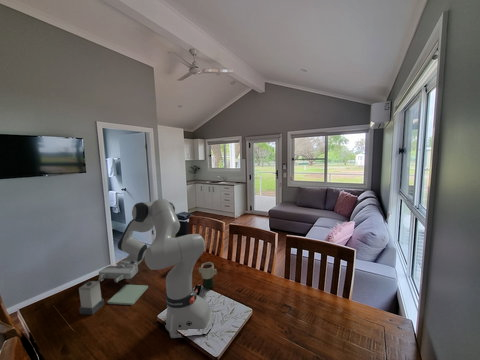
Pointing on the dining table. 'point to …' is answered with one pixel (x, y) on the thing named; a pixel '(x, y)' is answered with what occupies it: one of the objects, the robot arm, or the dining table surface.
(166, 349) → the dining table surface
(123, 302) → the pad
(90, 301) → the white upright box
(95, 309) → the post
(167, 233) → the robot arm
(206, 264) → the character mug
